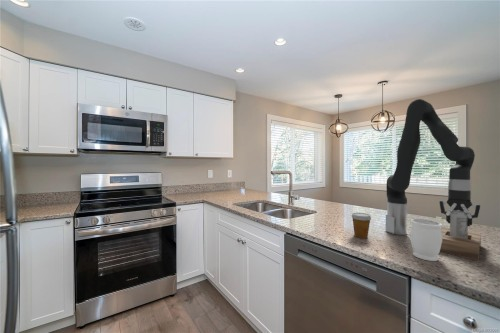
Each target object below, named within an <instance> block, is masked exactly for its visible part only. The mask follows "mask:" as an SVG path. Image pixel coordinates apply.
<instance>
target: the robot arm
mask: <svg viewBox="0 0 500 333" xmlns="http://www.w3.org/2000/svg"><path fill="white" fill-rule="evenodd" d="M421 122H422V123H424V124H425V126H426V127H427V128H428V130H429V132H430V134H431V135H432V136H431V137H433V138H434V140H435V141H436V142H437V143H438V144H439V145H440V147H441V150H442V153H443V155H444V156H445V157H446V159H448V161H452V162H455V163H454V166H452V167H450V168H449V171H448V172H449V173H448V174H449V176H448V178H449V180H448V184H447V185H448V186H447V188H448V193H447V197H448V199H447V200H440V201H439V208H440V213H441V214H444V215H445V221H446V222H447V224H450V213H451V212H452V211H453V210H460V211H465V213H466V214H467V216H468V227H471V226H472V225H473V219H478V217H479V214H480V210H481V204H479V203H477V204H475V203H472V201H471V198H472V197H471V195H472V194H471V193H472V191H471V190H472V185H471V184H472V183H471V169H472V167H473V164H474V161H475V156H476V155H475V151H474V149H473V148H471V147H470V146H459V144H458V143H459V142H458V141H459V138H458V136H457V135H456V133H454V132H453V131H452V130H451V129H450V128H449V127H448V126H447V124H445V123H444V122H443V121H442V119H441V118H440V117H439V114H437V112H436V110H435V108H434V107H433V105H432V104H431V103H430V102H428V101H426V100H424V99H421V98H417V99H414V100H412V101H411V102H410V103H409V105H408V107H407V110H406V115H405V121H404V126H403V129H402V134H401V137H400V140H399V143H398V147H397V151H396V163H397V164H396V166H395V167H396V168H395V170H394V173H393V174H392V175H390V176H388V178H387V179H386V199H387V205H386V206H387V210H386V211H387V212H386V214H385V232H387V233H390V234H392V235H398V236H399V235H400V236H402V235H403V236H405V235H407V226H408V225H407V222H408V221H407V218H408V217H407V215H408V198H407V196H406V190H407V189H408V188H409V186H410V183H411V176H412V171H413V166H414V164H415V161H416V157H417V155H418V153H419V149H420V145H421V132H420V124H421ZM446 205H448V206H449V208H448V210H447V211H446V210H445V206H446ZM471 207H473V209H475V210H474V214H472V213H471V211H470V210H469V208H471Z"/></svg>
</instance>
